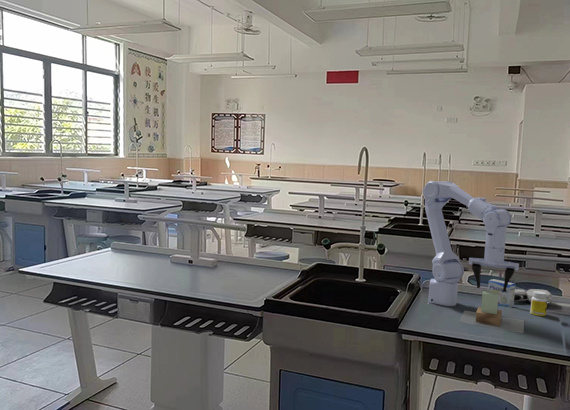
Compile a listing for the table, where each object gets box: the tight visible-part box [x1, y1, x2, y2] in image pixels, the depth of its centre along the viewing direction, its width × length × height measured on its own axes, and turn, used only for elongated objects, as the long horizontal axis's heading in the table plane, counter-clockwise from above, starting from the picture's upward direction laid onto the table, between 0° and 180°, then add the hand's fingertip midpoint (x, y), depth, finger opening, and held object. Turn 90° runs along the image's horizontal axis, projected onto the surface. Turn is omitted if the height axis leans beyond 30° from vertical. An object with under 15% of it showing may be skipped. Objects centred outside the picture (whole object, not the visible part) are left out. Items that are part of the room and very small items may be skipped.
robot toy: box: [514, 288, 553, 303], centre depth 182 cm, size 12×4×15 cm
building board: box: [458, 310, 525, 334], centre depth 155 cm, size 18×14×1 cm
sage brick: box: [480, 289, 499, 314], centre depth 155 cm, size 4×4×6 cm
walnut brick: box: [475, 306, 503, 326], centre depth 155 cm, size 7×7×3 cm
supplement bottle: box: [529, 291, 548, 317], centre depth 164 cm, size 5×5×8 cm
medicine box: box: [487, 278, 516, 309], centre depth 176 cm, size 8×4×9 cm, turn 42°
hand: (491, 289), depth 157 cm, fingers open, 7 cm apart
